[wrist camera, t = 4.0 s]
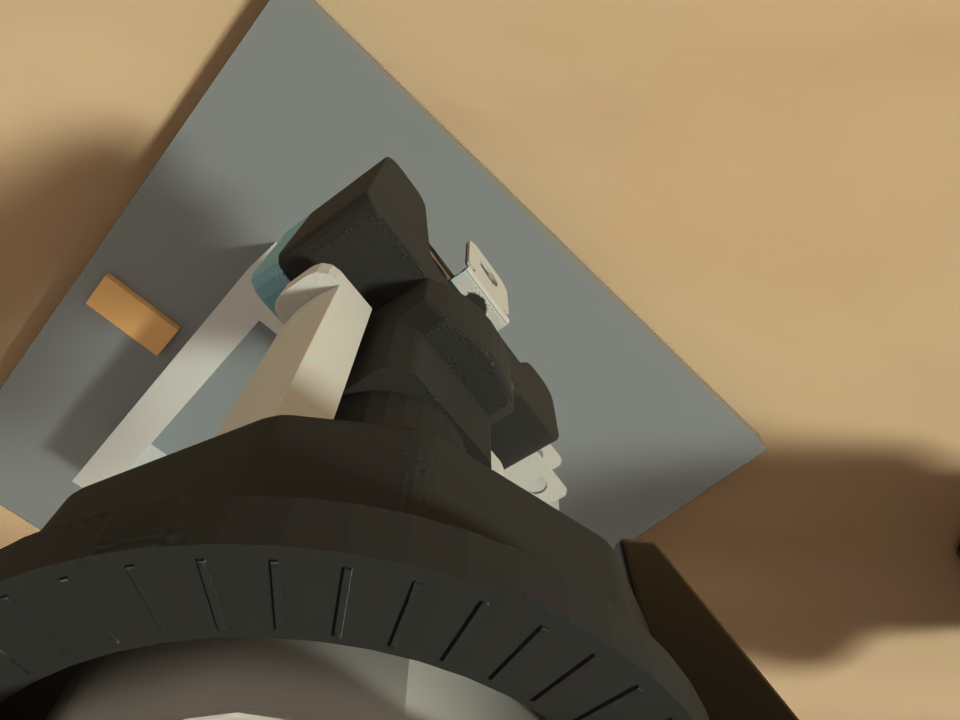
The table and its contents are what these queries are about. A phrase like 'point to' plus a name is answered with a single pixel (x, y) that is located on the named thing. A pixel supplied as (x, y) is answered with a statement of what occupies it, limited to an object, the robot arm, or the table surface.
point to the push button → (343, 524)
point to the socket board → (253, 326)
